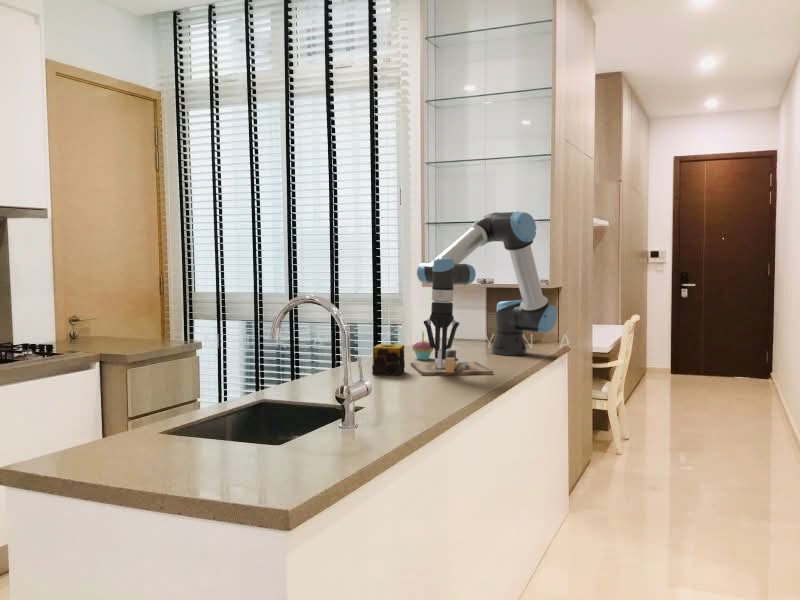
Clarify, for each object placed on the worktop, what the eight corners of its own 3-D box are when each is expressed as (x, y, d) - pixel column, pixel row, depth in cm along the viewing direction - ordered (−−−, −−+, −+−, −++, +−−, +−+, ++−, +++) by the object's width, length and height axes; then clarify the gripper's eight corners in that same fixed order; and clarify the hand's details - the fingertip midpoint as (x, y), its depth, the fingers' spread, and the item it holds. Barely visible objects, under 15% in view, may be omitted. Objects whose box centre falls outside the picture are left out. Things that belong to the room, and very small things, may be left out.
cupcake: (433, 360, 291) (433, 331, 290) (412, 360, 291) (412, 330, 290) (432, 357, 299) (433, 328, 299) (412, 357, 300) (412, 328, 299)
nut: (436, 363, 275) (436, 350, 275) (465, 364, 274) (465, 351, 274) (433, 372, 256) (434, 358, 256) (465, 372, 255) (465, 359, 255)
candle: (399, 376, 255) (400, 348, 254) (371, 375, 257) (372, 347, 256) (405, 371, 265) (405, 344, 264) (378, 370, 267) (378, 343, 266)
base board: (476, 364, 283) (476, 346, 282) (492, 374, 261) (493, 354, 260) (410, 365, 278) (410, 346, 278) (422, 375, 257) (422, 355, 256)
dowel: (460, 370, 262) (461, 361, 262) (462, 371, 260) (462, 362, 260) (455, 370, 262) (455, 362, 261) (456, 371, 260) (457, 362, 259)
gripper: (421, 301, 254) (419, 368, 256) (458, 303, 251) (455, 370, 252) (427, 300, 261) (425, 365, 263) (462, 302, 258) (459, 367, 259)
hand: (439, 367), depth 258 cm, fingers closed
